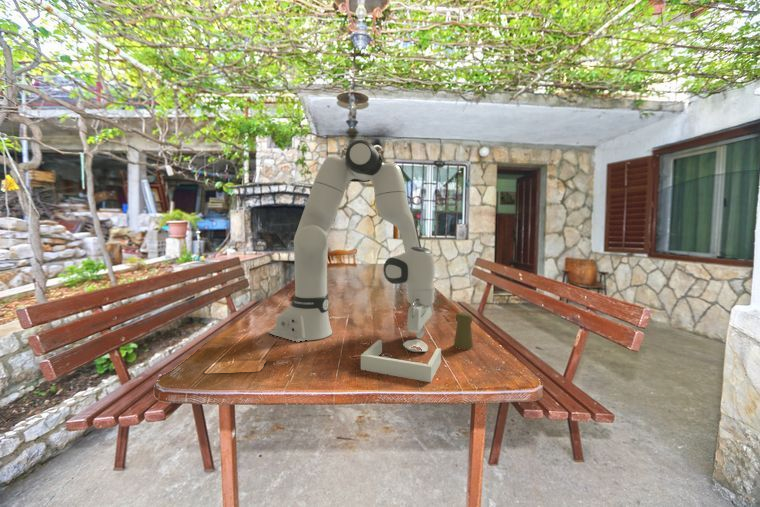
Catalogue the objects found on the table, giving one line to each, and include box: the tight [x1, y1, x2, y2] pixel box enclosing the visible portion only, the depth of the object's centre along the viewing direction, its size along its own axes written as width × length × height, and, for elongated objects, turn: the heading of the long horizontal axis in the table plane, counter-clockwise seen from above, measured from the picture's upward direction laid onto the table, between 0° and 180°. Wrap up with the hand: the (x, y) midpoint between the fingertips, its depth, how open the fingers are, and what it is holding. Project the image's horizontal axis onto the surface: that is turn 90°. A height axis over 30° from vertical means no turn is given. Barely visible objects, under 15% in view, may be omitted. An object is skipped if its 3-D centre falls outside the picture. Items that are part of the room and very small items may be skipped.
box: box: [360, 339, 442, 383], centre depth 90 cm, size 19×13×4 cm
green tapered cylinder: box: [453, 311, 474, 350], centre depth 104 cm, size 6×6×11 cm
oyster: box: [402, 338, 429, 353], centre depth 102 cm, size 8×12×2 cm, turn 170°
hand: (420, 337), depth 109 cm, fingers closed
